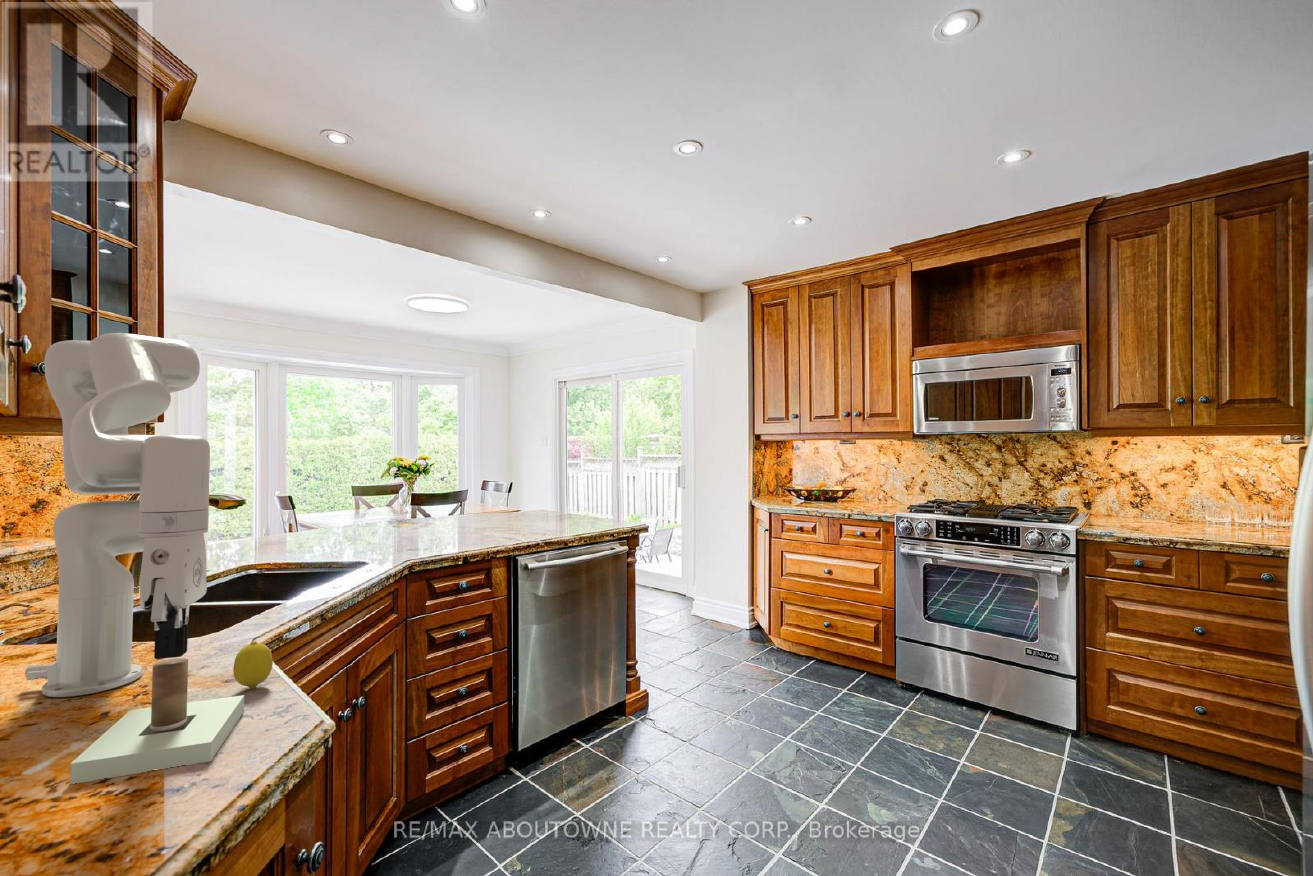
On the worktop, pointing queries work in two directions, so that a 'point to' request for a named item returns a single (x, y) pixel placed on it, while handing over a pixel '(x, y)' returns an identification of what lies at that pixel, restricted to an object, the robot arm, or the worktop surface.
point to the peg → (169, 695)
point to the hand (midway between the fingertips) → (170, 655)
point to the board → (158, 741)
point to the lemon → (253, 664)
